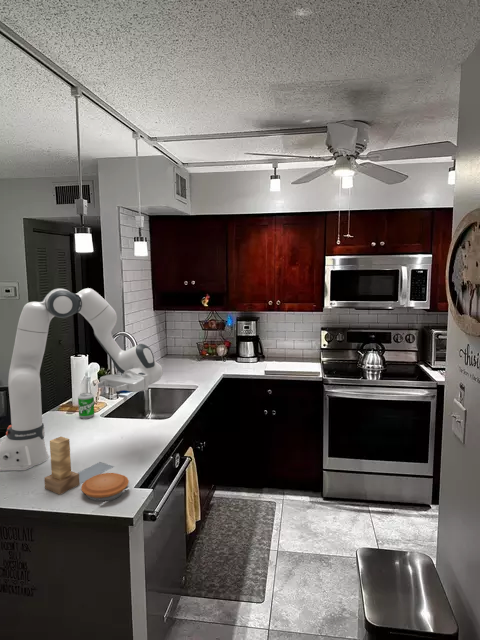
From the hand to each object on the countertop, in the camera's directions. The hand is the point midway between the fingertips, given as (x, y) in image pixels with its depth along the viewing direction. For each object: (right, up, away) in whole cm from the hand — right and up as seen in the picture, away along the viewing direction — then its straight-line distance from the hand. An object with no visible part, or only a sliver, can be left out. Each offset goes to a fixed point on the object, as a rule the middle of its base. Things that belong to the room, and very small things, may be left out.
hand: (107, 387), depth 175 cm
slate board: (-6, -32, -11) cm, 34 cm away
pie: (+6, -33, -22) cm, 40 cm away
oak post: (-10, -28, -19) cm, 35 cm away
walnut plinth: (-10, -32, -19) cm, 38 cm away
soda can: (-27, -24, +55) cm, 66 cm away
